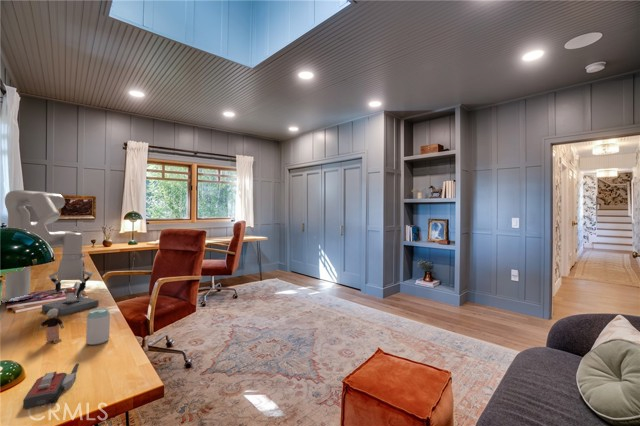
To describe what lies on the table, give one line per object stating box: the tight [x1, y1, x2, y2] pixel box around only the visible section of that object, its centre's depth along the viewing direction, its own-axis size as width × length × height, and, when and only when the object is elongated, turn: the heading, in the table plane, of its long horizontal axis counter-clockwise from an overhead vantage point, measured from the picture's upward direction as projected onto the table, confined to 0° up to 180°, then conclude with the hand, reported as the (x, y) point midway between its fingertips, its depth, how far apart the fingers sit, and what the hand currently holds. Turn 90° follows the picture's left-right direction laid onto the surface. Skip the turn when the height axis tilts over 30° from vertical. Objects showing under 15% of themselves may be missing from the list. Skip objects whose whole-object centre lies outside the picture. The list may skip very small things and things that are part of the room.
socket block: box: [41, 296, 99, 317], centre depth 147 cm, size 16×16×3 cm
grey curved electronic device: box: [72, 281, 85, 297], centre depth 163 cm, size 17×5×10 cm, turn 41°
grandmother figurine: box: [38, 309, 65, 345], centre depth 110 cm, size 8×4×13 cm, turn 115°
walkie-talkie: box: [22, 362, 80, 410], centre depth 83 cm, size 9×4×20 cm
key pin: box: [65, 287, 77, 305], centre depth 147 cm, size 4×4×10 cm
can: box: [85, 307, 111, 346], centre depth 111 cm, size 7×7×12 cm
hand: (70, 290), depth 147 cm, fingers open, 9 cm apart
